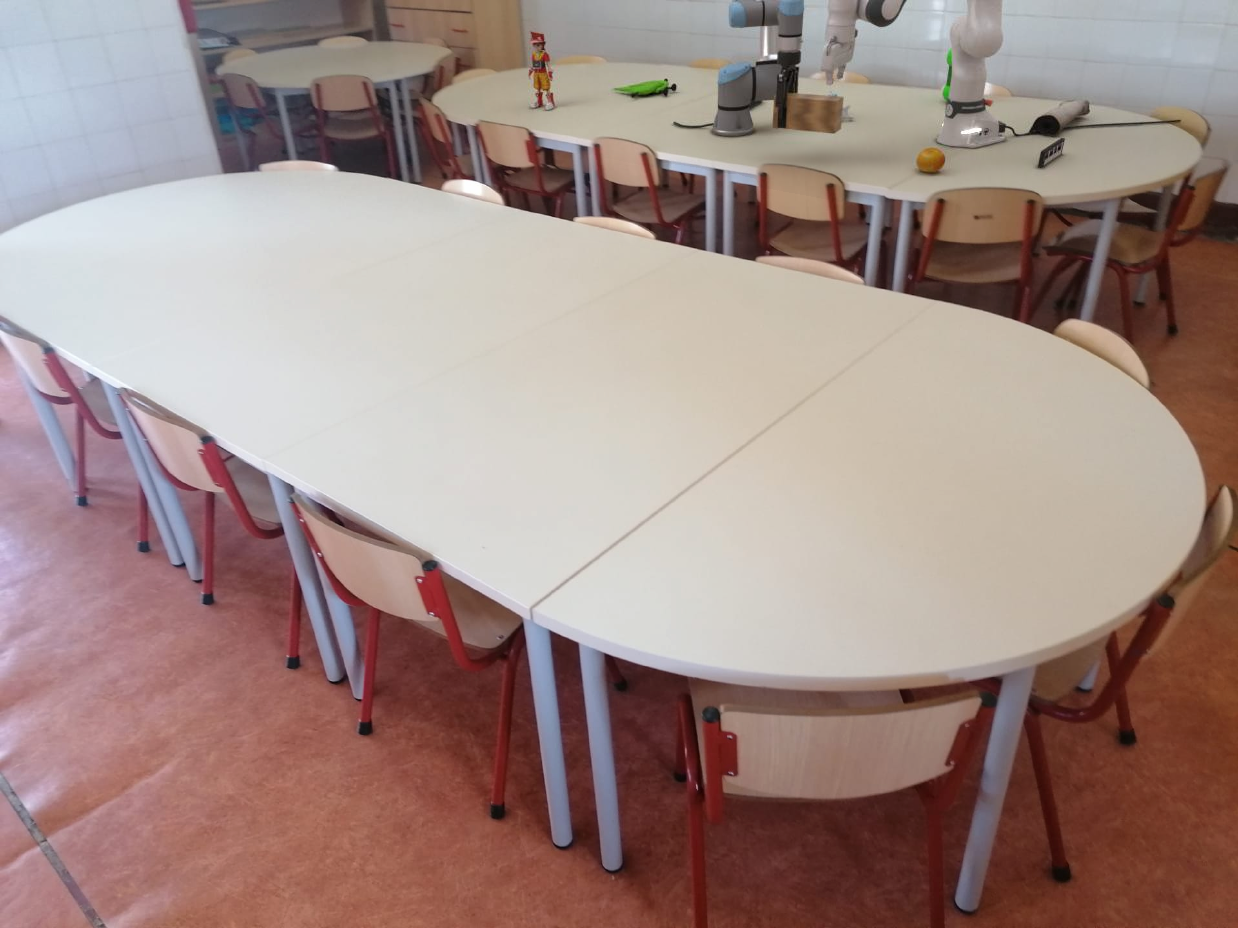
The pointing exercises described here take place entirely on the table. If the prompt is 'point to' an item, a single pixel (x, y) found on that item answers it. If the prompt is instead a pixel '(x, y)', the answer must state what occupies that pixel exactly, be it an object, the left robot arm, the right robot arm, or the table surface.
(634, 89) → the toy
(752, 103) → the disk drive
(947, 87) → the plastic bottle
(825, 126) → the box
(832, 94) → the anatomical model
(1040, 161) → the midi keyboard
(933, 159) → the fruit
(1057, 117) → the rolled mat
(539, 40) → the toy
